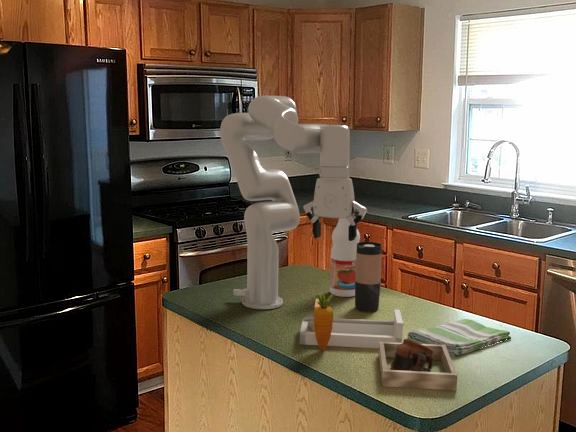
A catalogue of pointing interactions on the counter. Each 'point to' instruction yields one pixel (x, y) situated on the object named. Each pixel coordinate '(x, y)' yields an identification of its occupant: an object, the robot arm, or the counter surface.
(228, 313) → the counter surface
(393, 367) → the pottery mug
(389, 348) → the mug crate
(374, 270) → the travel mug
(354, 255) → the fruit juice
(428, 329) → the dish towel
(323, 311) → the carrot
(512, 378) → the counter surface
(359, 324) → the frame
